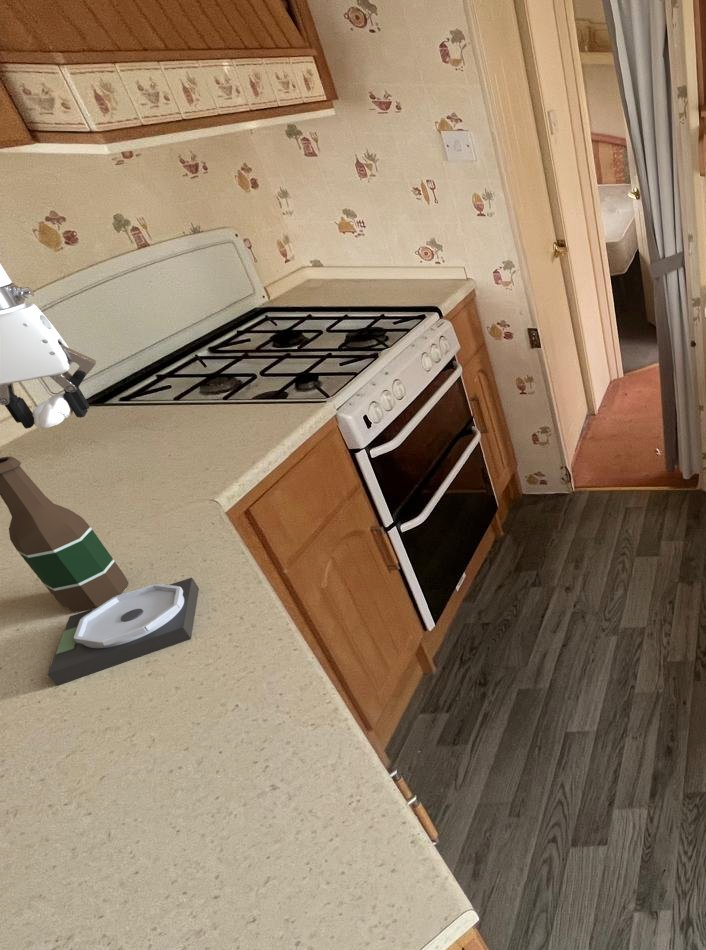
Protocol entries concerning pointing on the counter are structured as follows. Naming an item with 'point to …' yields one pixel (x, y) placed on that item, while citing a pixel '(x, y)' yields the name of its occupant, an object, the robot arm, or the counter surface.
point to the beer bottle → (58, 544)
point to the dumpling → (52, 411)
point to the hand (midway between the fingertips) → (56, 418)
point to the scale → (125, 629)
